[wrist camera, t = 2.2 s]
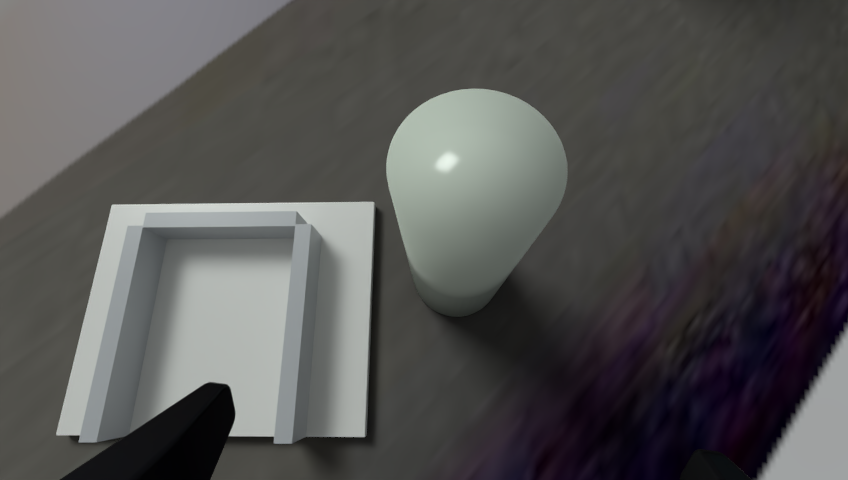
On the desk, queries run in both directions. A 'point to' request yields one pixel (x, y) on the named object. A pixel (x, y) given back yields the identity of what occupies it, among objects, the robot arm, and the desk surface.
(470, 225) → the domed peg
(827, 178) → the desk surface
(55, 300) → the desk surface
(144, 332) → the white railed tray
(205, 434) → the robot arm
